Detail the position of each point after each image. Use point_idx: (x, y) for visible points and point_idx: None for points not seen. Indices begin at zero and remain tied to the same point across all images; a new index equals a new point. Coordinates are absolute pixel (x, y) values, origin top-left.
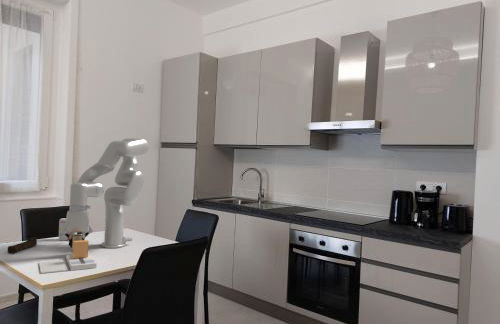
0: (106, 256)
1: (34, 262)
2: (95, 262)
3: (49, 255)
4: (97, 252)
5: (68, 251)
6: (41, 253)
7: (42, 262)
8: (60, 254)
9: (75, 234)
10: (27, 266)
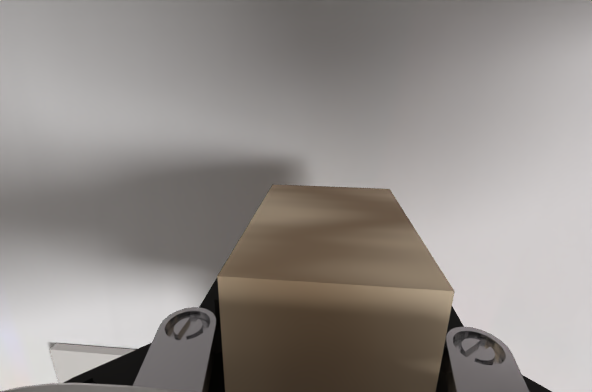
0: (572, 362)
1: (22, 308)
2: None
3: (95, 134)
4: (563, 189)
5: (275, 18)
6: (6, 13)
7: (73, 364)
8: (191, 132)
9: (308, 314)
10: (3, 377)
